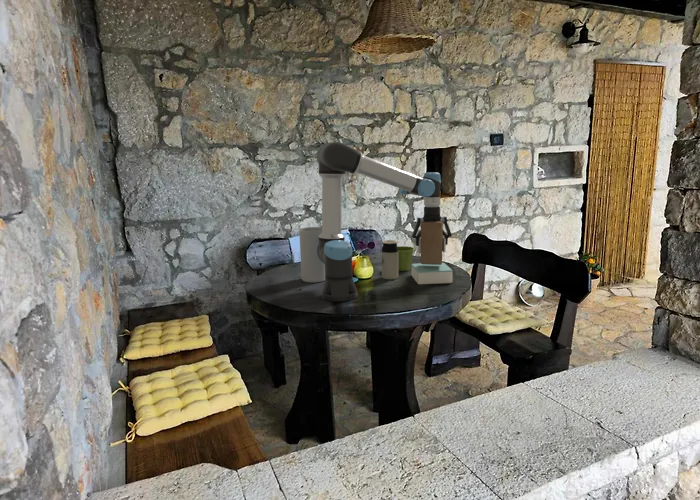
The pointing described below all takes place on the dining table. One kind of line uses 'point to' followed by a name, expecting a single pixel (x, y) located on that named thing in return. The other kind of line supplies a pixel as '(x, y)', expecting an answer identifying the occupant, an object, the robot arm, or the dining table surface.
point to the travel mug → (389, 259)
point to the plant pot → (404, 257)
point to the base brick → (432, 273)
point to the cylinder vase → (311, 255)
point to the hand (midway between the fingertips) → (431, 252)
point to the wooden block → (431, 242)
